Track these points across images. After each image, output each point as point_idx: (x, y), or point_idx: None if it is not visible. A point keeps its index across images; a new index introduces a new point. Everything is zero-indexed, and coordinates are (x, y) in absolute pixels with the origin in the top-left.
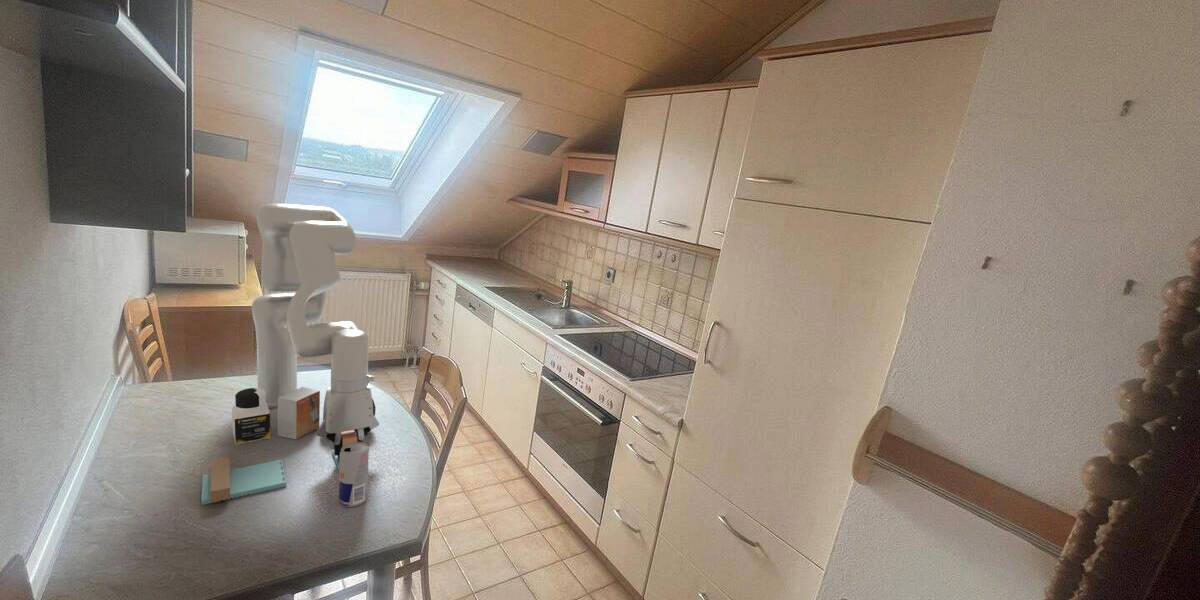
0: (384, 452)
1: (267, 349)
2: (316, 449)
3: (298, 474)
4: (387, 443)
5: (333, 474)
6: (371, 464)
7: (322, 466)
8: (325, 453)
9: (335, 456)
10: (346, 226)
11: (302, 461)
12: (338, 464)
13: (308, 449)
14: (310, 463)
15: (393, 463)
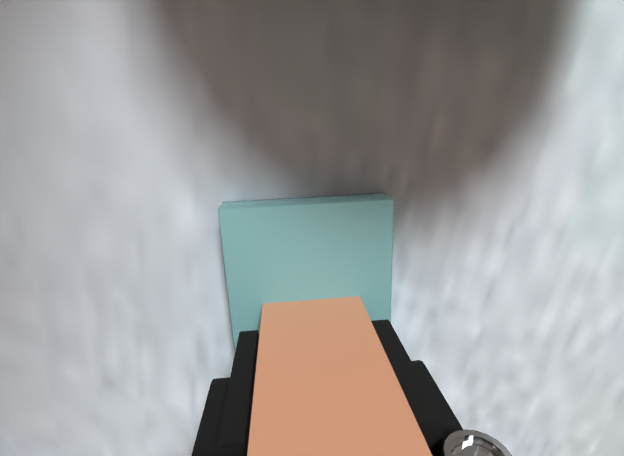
0: (538, 303)
1: None
2: (98, 75)
3: (15, 390)
4: (606, 187)
5: None
6: None
7: (155, 346)
8: (172, 176)
9: (233, 319)
10: None
11: (12, 239)
12: None
13: (29, 46)
14: (74, 285)
15: (531, 431)
